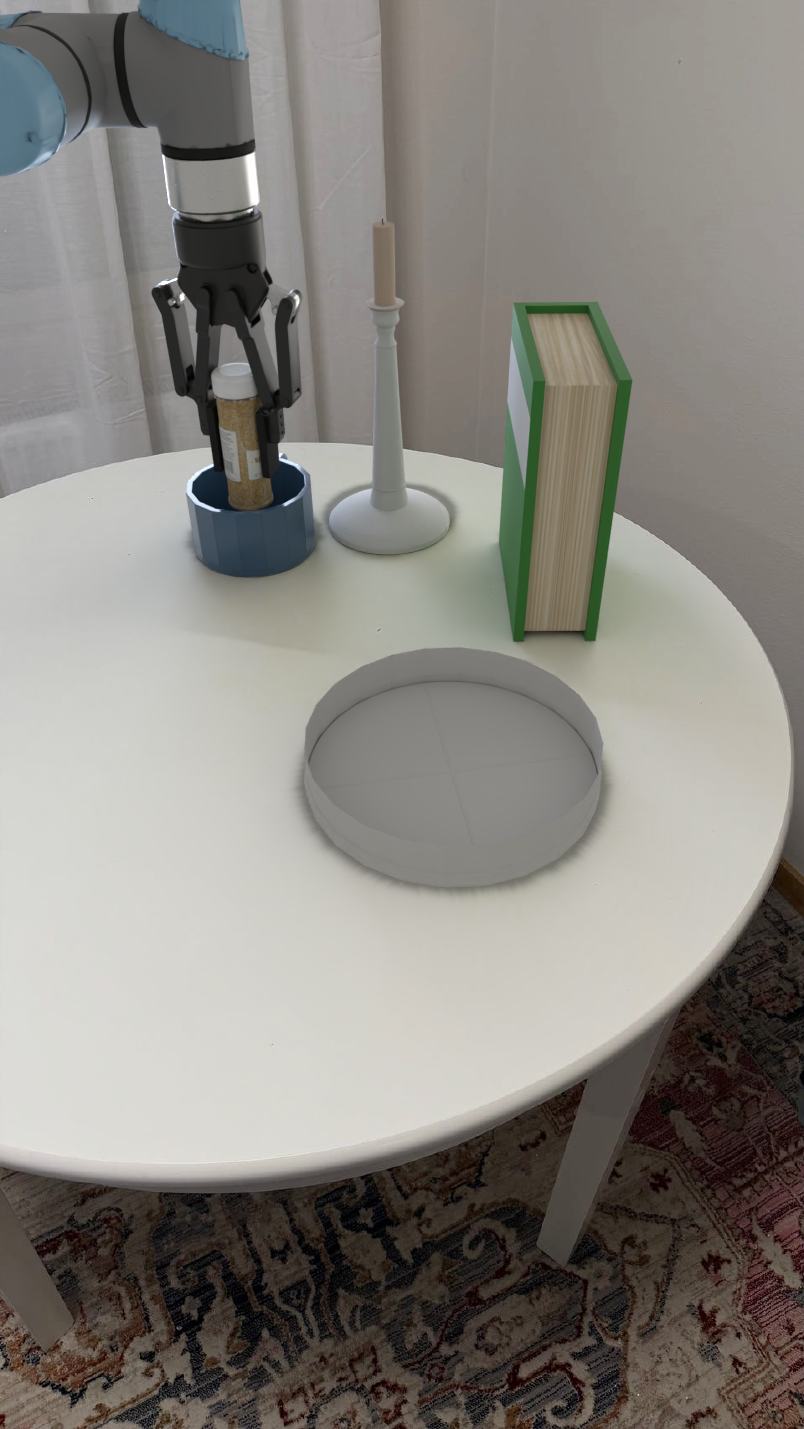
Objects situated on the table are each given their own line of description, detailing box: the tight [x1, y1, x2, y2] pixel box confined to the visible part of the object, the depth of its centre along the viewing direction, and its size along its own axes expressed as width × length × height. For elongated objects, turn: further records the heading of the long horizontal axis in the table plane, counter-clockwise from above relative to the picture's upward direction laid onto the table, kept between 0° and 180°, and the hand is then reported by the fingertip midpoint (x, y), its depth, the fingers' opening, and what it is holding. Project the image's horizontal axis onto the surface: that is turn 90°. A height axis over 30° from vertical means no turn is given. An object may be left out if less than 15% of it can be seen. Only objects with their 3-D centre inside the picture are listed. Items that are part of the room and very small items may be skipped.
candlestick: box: [328, 218, 451, 555], centre depth 97 cm, size 13×13×30 cm
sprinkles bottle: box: [211, 362, 273, 511], centre depth 96 cm, size 5×5×14 cm
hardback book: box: [498, 301, 633, 642], centre depth 90 cm, size 18×7×24 cm, turn 0°
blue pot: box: [185, 452, 316, 578], centre depth 103 cm, size 15×12×7 cm
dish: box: [303, 646, 604, 888], centre depth 75 cm, size 22×22×5 cm
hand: (247, 468), depth 98 cm, fingers closed on sprinkles bottle, 4 cm apart
